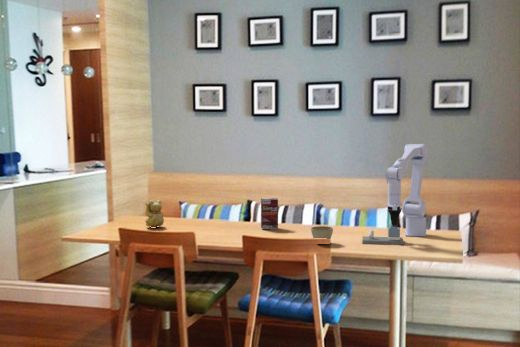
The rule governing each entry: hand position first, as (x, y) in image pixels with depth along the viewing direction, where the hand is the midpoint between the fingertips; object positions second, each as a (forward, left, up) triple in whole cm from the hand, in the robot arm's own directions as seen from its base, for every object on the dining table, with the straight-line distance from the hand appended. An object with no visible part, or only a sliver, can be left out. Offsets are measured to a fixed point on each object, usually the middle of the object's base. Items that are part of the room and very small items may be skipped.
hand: (394, 223), depth 253 cm
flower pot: (+32, +7, -9) cm, 34 cm away
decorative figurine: (+123, -20, -9) cm, 125 cm away
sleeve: (0, 0, -7) cm, 7 cm away
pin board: (+5, 0, -9) cm, 10 cm away
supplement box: (+62, -25, -9) cm, 67 cm away
